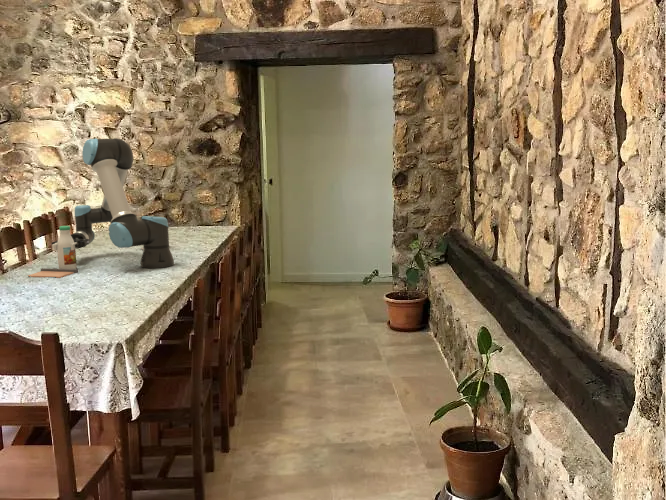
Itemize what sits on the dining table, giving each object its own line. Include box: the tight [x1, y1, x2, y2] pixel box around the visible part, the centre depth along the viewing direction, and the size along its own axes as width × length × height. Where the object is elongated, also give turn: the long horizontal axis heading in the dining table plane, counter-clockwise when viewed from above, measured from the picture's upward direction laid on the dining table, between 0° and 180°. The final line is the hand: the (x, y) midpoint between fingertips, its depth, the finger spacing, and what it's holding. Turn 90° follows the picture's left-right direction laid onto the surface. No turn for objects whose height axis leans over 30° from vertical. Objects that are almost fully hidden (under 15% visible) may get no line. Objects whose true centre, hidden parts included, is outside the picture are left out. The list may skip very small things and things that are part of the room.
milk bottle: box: [56, 225, 78, 269], centre depth 311 cm, size 8×8×20 cm
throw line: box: [40, 267, 79, 274], centre depth 306 cm, size 18×1×2 cm, turn 78°
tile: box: [27, 270, 75, 279], centre depth 300 cm, size 16×10×1 cm, turn 78°
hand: (62, 247), depth 306 cm, fingers closed on milk bottle, 8 cm apart
